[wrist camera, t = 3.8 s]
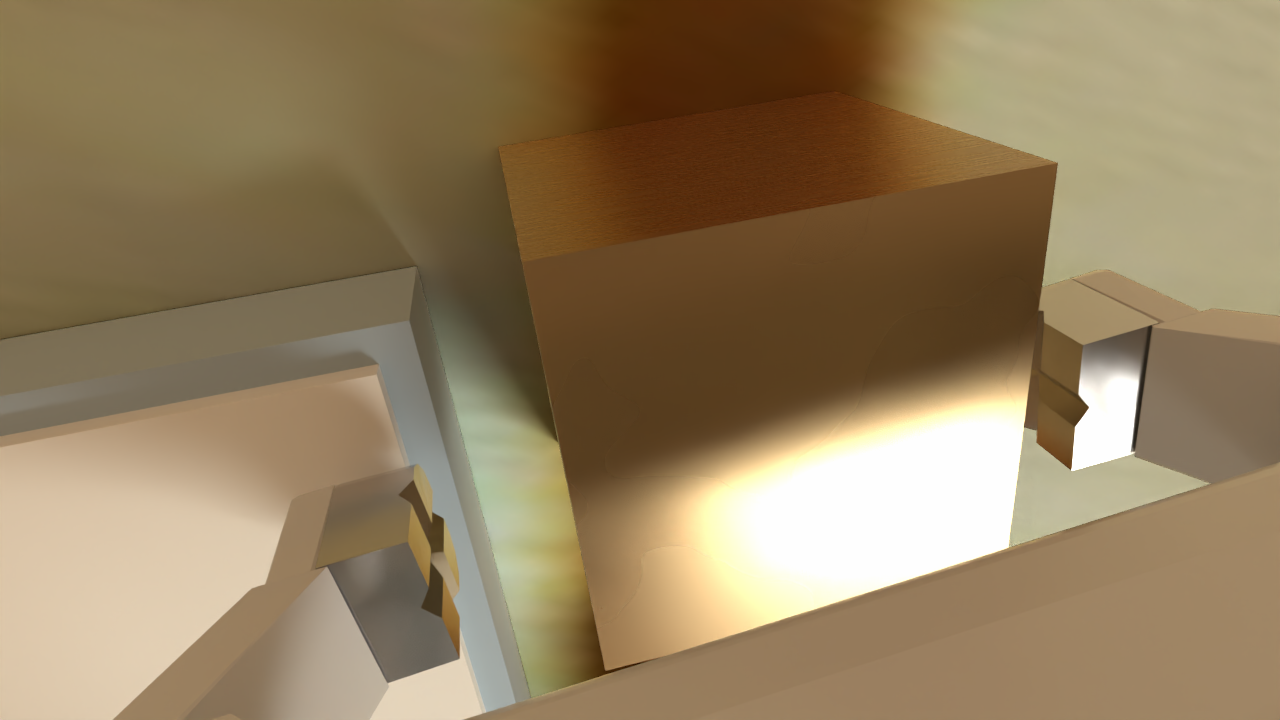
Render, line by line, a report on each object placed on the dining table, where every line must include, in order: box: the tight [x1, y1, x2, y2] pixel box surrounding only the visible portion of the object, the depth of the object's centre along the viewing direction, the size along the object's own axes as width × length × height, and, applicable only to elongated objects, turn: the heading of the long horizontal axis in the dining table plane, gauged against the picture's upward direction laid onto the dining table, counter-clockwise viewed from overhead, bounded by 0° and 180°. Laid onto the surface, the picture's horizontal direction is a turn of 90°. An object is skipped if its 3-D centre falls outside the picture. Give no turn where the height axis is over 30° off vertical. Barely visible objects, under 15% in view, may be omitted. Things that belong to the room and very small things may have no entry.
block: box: [498, 91, 1058, 671], centre depth 10 cm, size 5×5×5 cm
